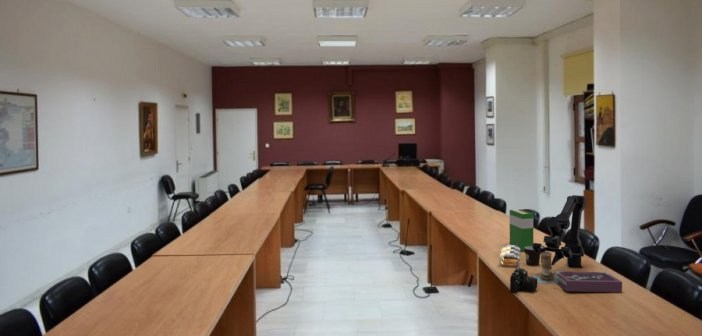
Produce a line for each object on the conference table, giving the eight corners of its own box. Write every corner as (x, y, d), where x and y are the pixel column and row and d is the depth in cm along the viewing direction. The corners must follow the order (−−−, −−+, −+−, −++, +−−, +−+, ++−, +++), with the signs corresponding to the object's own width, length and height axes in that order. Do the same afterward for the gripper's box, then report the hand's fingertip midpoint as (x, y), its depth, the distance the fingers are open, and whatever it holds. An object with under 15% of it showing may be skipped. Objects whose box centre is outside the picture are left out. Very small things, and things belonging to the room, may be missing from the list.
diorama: (519, 269, 278) (519, 246, 277) (499, 268, 281) (499, 245, 280) (520, 258, 301) (520, 236, 300) (502, 257, 305) (501, 236, 304)
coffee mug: (542, 267, 279) (542, 249, 278) (525, 267, 281) (525, 249, 280) (538, 262, 290) (538, 245, 290) (523, 261, 292) (522, 244, 291)
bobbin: (550, 273, 259) (548, 250, 256) (557, 278, 252) (556, 255, 250) (537, 275, 258) (536, 252, 256) (544, 281, 252) (543, 257, 249)
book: (605, 281, 251) (606, 271, 251) (622, 292, 235) (622, 281, 235) (553, 280, 252) (554, 271, 252) (566, 291, 236) (567, 280, 235)
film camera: (537, 296, 233) (537, 275, 232) (509, 294, 237) (509, 273, 236) (537, 285, 249) (537, 265, 249) (511, 283, 254) (510, 263, 253)
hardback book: (509, 246, 331) (509, 209, 329) (520, 245, 332) (520, 209, 330) (522, 252, 314) (521, 214, 312) (533, 251, 315) (533, 213, 313)
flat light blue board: (559, 277, 261) (559, 275, 261) (565, 285, 247) (565, 283, 247) (531, 276, 264) (531, 274, 264) (535, 284, 250) (535, 283, 250)
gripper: (533, 227, 263) (523, 252, 256) (570, 231, 250) (561, 258, 243) (540, 239, 269) (530, 264, 262) (576, 244, 256) (567, 270, 249)
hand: (546, 264), depth 254 cm, fingers open, 5 cm apart
